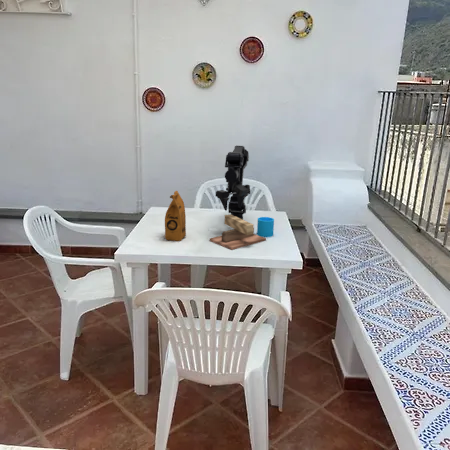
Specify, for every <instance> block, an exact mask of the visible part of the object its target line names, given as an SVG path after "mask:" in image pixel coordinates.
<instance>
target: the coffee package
mask: <svg viewBox="0 0 450 450" xmlns="http://www.w3.org/2000/svg"><path fill="white" fill-rule="evenodd" d="M169 199H172V200H171V201H170V203H169V206H168V208H167V210H166V211H165V216H164V239H165V240H166V241H171V242H172V241H175V242H182V241H183V239H184V238H186V235H187V228H186V227H187V226H186V223H187V222H186V221H187V220H186V219H187V217H186V208H185V203H184V201H183V198H182V196H181V195H180V193H179V190H175V191H174V193H173V194H172V195H170V196H169Z"/></svg>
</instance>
